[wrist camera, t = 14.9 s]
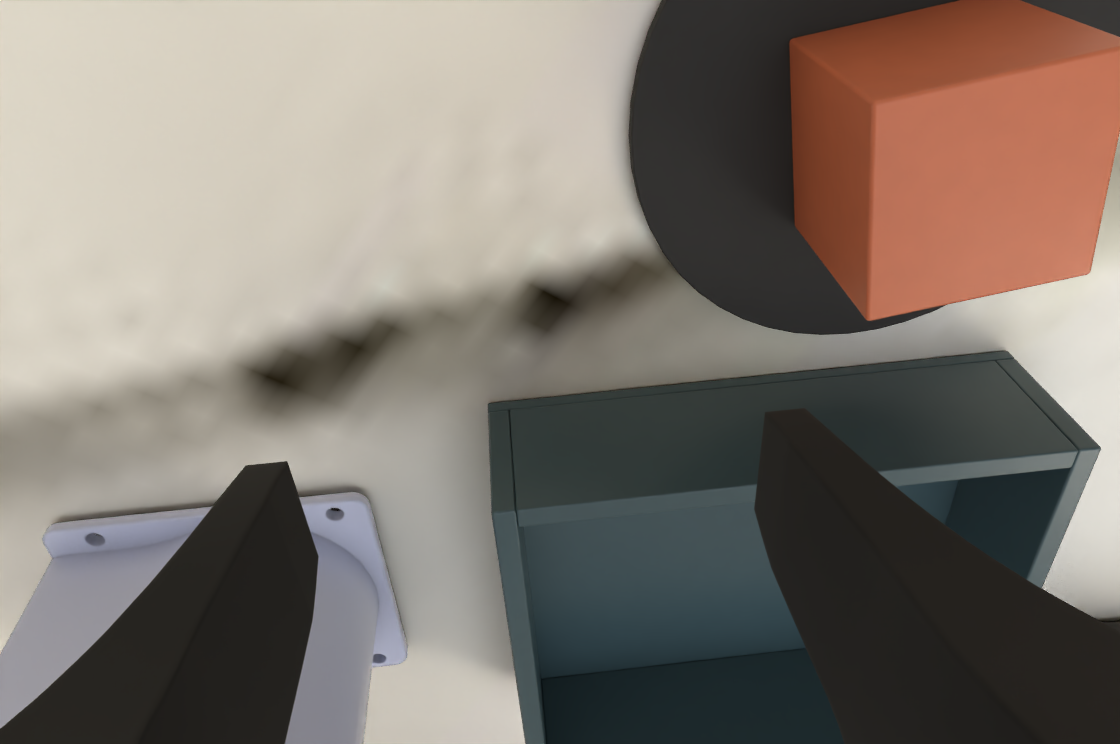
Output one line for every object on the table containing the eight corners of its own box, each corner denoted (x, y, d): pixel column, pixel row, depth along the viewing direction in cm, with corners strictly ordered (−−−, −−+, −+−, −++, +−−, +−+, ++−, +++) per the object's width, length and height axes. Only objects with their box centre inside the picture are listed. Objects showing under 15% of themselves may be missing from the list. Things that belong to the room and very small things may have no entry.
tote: (525, 680, 31) (532, 796, 27) (487, 402, 23) (491, 513, 20) (919, 634, 32) (976, 742, 28) (1007, 350, 24) (1102, 447, 20)
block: (793, 227, 21) (866, 323, 17) (787, 38, 18) (872, 102, 14) (976, 187, 20) (1091, 275, 17) (998, -10, 18) (1140, 42, 14)
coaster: (630, 347, 23) (632, 355, 22) (625, -173, 16) (629, -173, 15) (1051, 305, 23) (1059, 313, 23) (1226, -217, 16) (1242, -216, 16)
